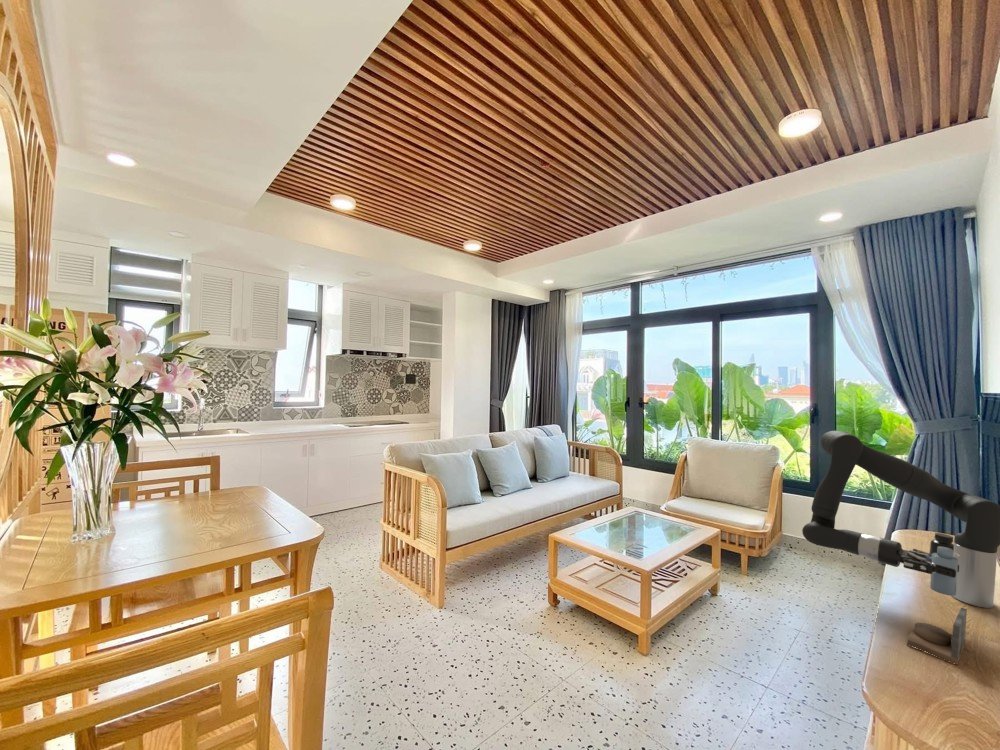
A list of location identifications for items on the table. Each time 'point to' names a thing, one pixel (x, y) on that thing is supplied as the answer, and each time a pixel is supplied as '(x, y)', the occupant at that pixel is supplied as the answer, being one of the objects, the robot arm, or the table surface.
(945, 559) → the blue grey bottle
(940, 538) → the supplement bottle
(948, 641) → the display stand
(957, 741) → the table surface
